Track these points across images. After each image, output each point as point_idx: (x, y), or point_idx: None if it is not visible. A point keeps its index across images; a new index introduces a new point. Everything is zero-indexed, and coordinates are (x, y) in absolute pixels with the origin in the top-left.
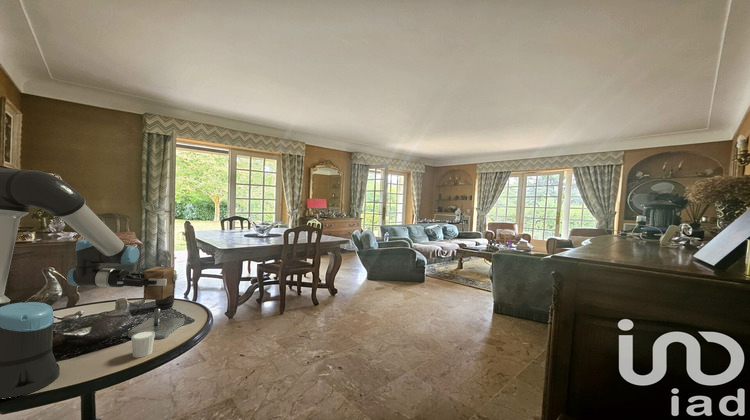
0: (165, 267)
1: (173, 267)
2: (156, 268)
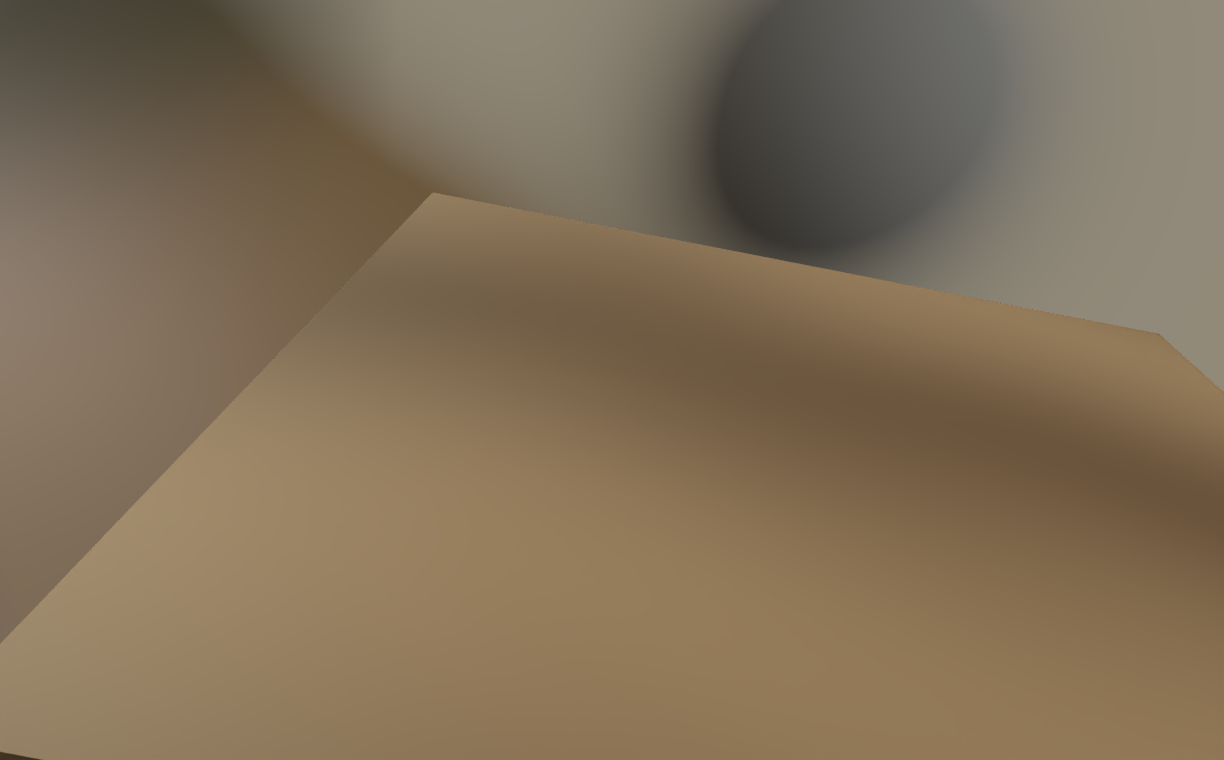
0: (500, 314)
1: (460, 207)
2: (818, 551)
